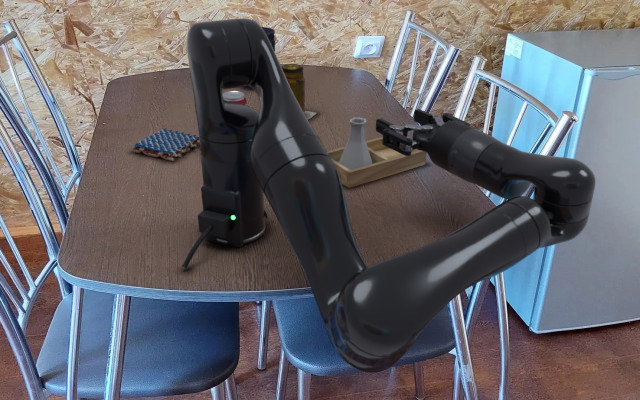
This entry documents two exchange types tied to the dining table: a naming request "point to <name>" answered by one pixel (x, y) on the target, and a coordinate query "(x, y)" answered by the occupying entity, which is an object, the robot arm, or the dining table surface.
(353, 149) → the flask
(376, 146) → the wooden compartment tray
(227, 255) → the dining table surface
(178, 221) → the dining table surface
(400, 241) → the dining table surface
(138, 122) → the dining table surface
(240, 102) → the soda can
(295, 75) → the condiment
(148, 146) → the woven mat
